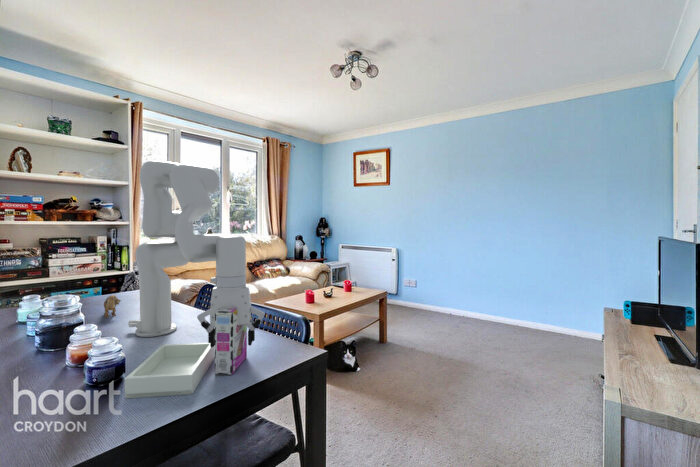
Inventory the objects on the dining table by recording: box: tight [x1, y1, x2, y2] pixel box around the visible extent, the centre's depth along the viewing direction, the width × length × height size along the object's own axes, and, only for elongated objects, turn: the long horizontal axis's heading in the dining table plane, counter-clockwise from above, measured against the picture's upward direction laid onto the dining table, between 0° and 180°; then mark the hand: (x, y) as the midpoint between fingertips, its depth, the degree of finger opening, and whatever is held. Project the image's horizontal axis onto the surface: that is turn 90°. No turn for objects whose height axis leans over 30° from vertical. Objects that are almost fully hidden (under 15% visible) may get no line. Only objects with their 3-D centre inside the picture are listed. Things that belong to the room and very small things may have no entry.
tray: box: [124, 342, 215, 399], centre depth 85 cm, size 14×20×4 cm
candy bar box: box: [214, 309, 248, 376], centre depth 90 cm, size 11×5×16 cm, turn 178°
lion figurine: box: [103, 294, 122, 319], centre depth 138 cm, size 15×5×9 cm, turn 44°
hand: (232, 344), depth 91 cm, fingers open, 9 cm apart
